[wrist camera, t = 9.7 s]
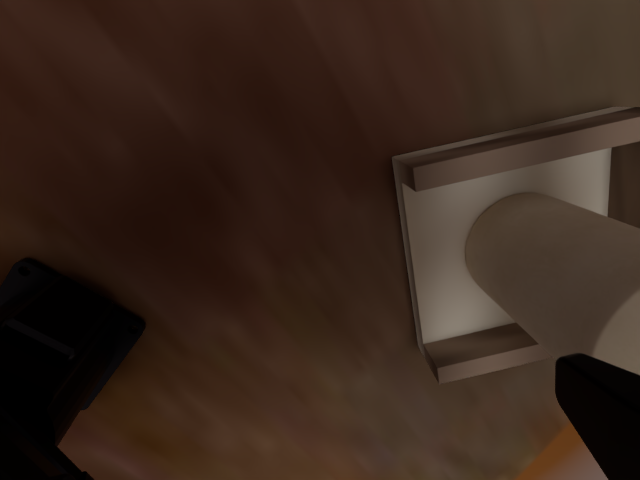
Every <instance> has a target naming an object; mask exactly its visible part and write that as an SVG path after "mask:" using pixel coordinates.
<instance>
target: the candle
mask: <svg viewBox="0 0 640 480" xmlns="http://www.w3.org/2000/svg"><path fill="white" fill-rule="evenodd" d="M465 258H466V264H467V268H468V270H469V273H470V274H471V276H472V278H473V279H474V281H475V282H476V283H477V285H478V286H479V287H480V288H481V289H482V290H483V291H484V292H485V293H486V294H487V295H488V296H489V297H490V298H491V299H492V300H493V301H494V302H496V303H497V304H498V305H499V306H500V307H501V308H502V309H503V310H504V311H505V312H506V313H507V314H508V315H509V316H510V317H511V318H512V319H513V320H514V321H515V322H516V323H518V324H519V325H520V326H521V327H522V328H523V329H524V330H525V331H526V332H527V333H528V334H529V335H530V336H531V337H532V338H533V339H534V340H535V341H536V342H537V343H538V344H540V345H541V346H542V347H543V348H544V349H545V350H546V351H547V352H548V353H549V354H550V355H551V356H552V357H553V358H554V359H555V360H556V361H557V359H558V358H559V357H561V356H565V355H569V354H574V353H583V354H586V355H589V356H592V357H594V358H597V359H599V360H602V361H604V362H607V363H610V364H612V365H615V366H617V367H620V368H623V369H625V370H628V371H630V372H633V373H636V374H638V375H640V229H639V228H637V227H634V226H631V225H628V224H626V223H623V222H620V221H618V220H615V219H612V218H609V217H607V216H604V215H601V214H598V213H596V212H593V211H590V210H587V209H585V208H582V207H579V206H577V205H574V204H571V203H568V202H566V201H563V200H560V199H557V198H554V197H551V196H548V195H545V194H539V193H519V194H515V195H511V196H508V197H506V198H504V199H502V200H500V201H498V202H496V203H495V204H493V205H492V206H491V207H489V208H488V209H487V210H486V211H485V212H484V213H483V214H482V215H481V216H480V217H479V219H478V220H477V221H476V223H475V224H474V226H473V227H472V229H471V232H470V234H469V236H468V239H467V243H466V250H465Z"/></svg>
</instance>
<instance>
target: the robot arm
mask: <svg viewBox="0 0 640 480" xmlns="http://www.w3.org/2000/svg"><path fill="white" fill-rule="evenodd" d="M24 266H25V267H27V268H29V270H30V273H29V272H27V271H25V270H24ZM130 325H134V326H136V327H137V328H138V329H137V330H135V329H132V328H131V326H130ZM145 327H146V326H145V322H144V321H143V320H142V319H141V318H139V317H137V316H135V315H134V314H132V313H130V312H128V311H126V310H125V309H123V308H121V307H119V306H117V305H115V304H114V303H112V302H111V301H110V300H108V299H106V298H105V297H103V296H101V295H99V294H97V293H95V292H94V291H92V290H90V289H88V288H86V287H85V286H83V285H81V284H79V283H77V282H76V281H74V280H72V279H70V278H68V277H66V276H63V275H61V274H59V273H57V272H55V271H54V270H52V269H50V268H48V267H46V266H45V265H43V264H41V263H39V262H37V261H35V260H33V259H31V258H24V259H21V260H20V261H18V262H17V263H15V264H14V265H13V267H12V269H11V270H10V272H9V274H8V275H7V277H6V279H5V280H4V282H3V283H2V285H1V287H0V480H94V479H93V478H92V477H91V476H90V475H89V474H88V473H87V472H86V471H84V472H82V471H81V470H80V469H79V468H78V467H77V466H76V465H75V464H74V463H73V462H72V461H71V460H70V459H69V458H68V457H67V456H66V455H65V454H64V453H63V452H62V451H61V450H60V449H59V448H58V447H57V446H58V445H59V443H60V441H61V440H62V438H63V437H64V435H65V434H66V432H67V430H68V429H69V427H70V426H71V424H72V423H73V421H74V419H75V418H76V416H77V415H78V413H79V412H80V410H85V409H87V408H88V407H89V405H90V404H91V403H92V401H93V400H94V399H95V397H96V396H97V395H98V393H99V392H100V390H101V389H102V388H103V386H104V385H105V384H106V382H107V381H108V380H109V378H110V377H111V376H112V374H113V373H114V371H115V370H116V369H117V367H118V366H119V365H120V363H121V362H122V361H123V359H124V358H125V357H126V355H127V354H128V352H129V351H130V350H131V348H132V347H133V346H134V344H135V343H136V342H137V340H138V339H139V338H140V336H141V335H142V333H143V331H144V330H145ZM555 394H556V398H557V400H558V403H559V405H560V406H561V408H562V409H563V411H564V412H565V414H566V416H567V417H568V419H569V420H570V422H571V423H572V425H573V426H574V428H575V429H576V431H577V432H578V434H579V435H580V437H581V438H582V440H583V442H584V443H585V445H586V446H587V448H588V449H589V451H590V452H591V454H592V455H593V457H594V458H595V460H596V461H597V463H598V464H599V466H600V468H601V469H602V470H603V472H604V474H605V475H606V477H607V478H608V480H640V375H638V374H636V373H633V372H630V371H628V370H625V369H623V368H620V367H617V366H615V365H612V364H610V363H607V362H604V361H602V360H599V359H597V358H594V357H592V356H589V355H586V354H583V353H574V354H569V355H565V356H561V357H559V358H558V359H557V361H556V365H555Z"/></svg>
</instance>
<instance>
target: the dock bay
mask: <svg viewBox="0 0 640 480" xmlns="http://www.w3.org/2000/svg"><path fill="white" fill-rule="evenodd" d="M392 163H393V170H394V177H395V184H396V191H397V199H398V206H399V213H400V220H401V227H402V234H403V242H404V249H405V256H406V263H407V270H408V277H409V285H410V292H411V299H412V306H413V313H414V320H415V328H416V335H417V342H418V347H419V349H420V351H421V352H422V354H423V356H424V358H425V360H426V361H427V363H428V365H429V367H430V368H431V370H432V372H433V374H434V376H435V377H436V379H437V381H438V383H439V384H443V383H447V382H451V381H455V380H460V379H464V378H468V377H472V376H476V375H481V374H485V373H489V372H493V371H497V370H502V369H506V368H510V367H514V366H518V365H523V364H527V363H531V362H535V361H540V360H544V359H548V358H552V356H551V355H550V354H549V353H548V352H547V351H546V350H545V349H544V348H543V347H542V346H541V345H540V344H538V343H537V342H536V341H535V340H534V339H533V338H532V337H531V336H530V335H529V334H528V333H527V332H526V331H525V330H524V329H523V328H522V327H521V326H520V325H519V324H518V323H516V322H515V321H514V320H513V319H512V318H511V317H510V316H509V315H508V314H507V313H506V312H505V311H504V310H503V309H502V308H501V307H500V306H499V305H498V304H497V303H496V302H494V301H493V300H492V299H491V298H490V297H489V296H488V295H487V294H486V293H485V292H484V291H483V290H482V289H481V288H480V287H479V286H478V285H477V283H476V282H475V281H474V279H473V278H472V276H471V274H470V273H469V270H468V268H467V264H466V258H465V250H466V243H467V239H468V236H469V234H470V232H471V229H472V227H473V226H474V224H475V223H476V221H477V220H478V219H479V217H480V216H481V215H482V214H483V213H484V212H485V211H486V210H487V209H488V208H489V207H491V206H492V205H493V204H495V203H496V202H498V201H500V200H502V199H504V198H506V197H508V196H511V195H515V194H519V193H539V194H545V195H548V196H551V197H554V198H557V199H560V200H563V201H566V202H568V203H571V204H574V205H577V206H579V207H582V208H585V209H587V210H590V211H593V212H596V213H598V214H601V215H604V216H607V217H609V218H612V219H615V220H618V221H620V222H623V223H626V224H628V225H631V226H634V227H637V228H639V229H640V107H610V108H606V109H601V110H597V111H593V112H588V113H584V114H579V115H575V116H570V117H566V118H561V119H557V120H553V121H548V122H544V123H539V124H535V125H530V126H526V127H522V128H517V129H513V130H508V131H504V132H499V133H495V134H490V135H486V136H482V137H477V138H473V139H468V140H464V141H459V142H455V143H451V144H446V145H442V146H437V147H433V148H428V149H424V150H419V151H415V152H411V153H406V154H402V155H397V156H393V157H392Z"/></svg>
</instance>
